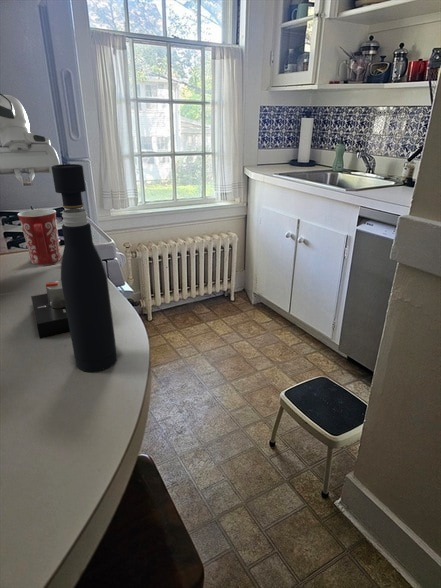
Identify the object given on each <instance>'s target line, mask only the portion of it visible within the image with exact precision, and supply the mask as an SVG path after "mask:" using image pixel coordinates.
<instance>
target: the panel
mask: <svg viewBox="0 0 441 588" xmlns="http://www.w3.org/2000/svg"><path fill="white" fill-rule="evenodd" d="M30 299H31V304H32V307H33V313H34V318H35V323H36V329H37V332H38V338H39V340H41V339H45V338H50V337H55V336H59V335H63V334H68V333H69V334H70V328H69V323H68V317H67V312H66V307H65V308H59V309H57V308H52V307H50V305H49V300H48V295H47V293H42V294H37V295H31V296H30Z"/></svg>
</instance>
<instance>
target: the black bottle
mask: <svg viewBox="0 0 441 588" xmlns="http://www.w3.org/2000/svg"><path fill="white" fill-rule="evenodd" d="M51 168H52V173H51V174H52V179H53V185H54V191H55V193H57V194H61V200H62V207H63V209H64V210H62V211H61V212H62V214H61V217H62V218H63V219H62V222H63V224H62V225H61V231H62V236H63V241H64V242H63V243H64V247H63V252H62V257H61V262H60V263H61V264H60V280H61V284H62V289H63V295H64V300H65V306H66V312H67V317H68V323H69V328H70V332H69V334H70V340H71V344H72V350H73V356H74V362H75V366H76V368H77V369H78V370H79V371H82V372H86V373H98V372H103V371H105V370H108V369H110V368H111V367H112V366H114V365H115V363H116V362H118V361H117V360H118V352H117V344H116V338H115V337H116V336H115V328H114V320H113V312H112V305H111V297H110V296H111V295H110V287H109V282H108V280H109V279H108V274H107V271H106V268H105V265H104V262H103V260H102V256H100V252H99V251H98V250H97V248H96V245H95V243H94V240H93V239H94V238H93V233H92V224H91V223H90V222H88V221H89V218H88V217H87V216H88V212H87V210H86V208H83V207H84V202H83V194H82V193H84V192H86V191H87V187H86V178H85V171H84V165H83V164H79V163H78V164H77V163H64V164H60V165H54V166H52V167H51Z"/></svg>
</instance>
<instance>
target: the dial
mask: <svg viewBox="0 0 441 588" xmlns="http://www.w3.org/2000/svg"><path fill="white" fill-rule="evenodd" d="M45 289H46V294H47V295H48V300H49V305H50V307H52V308H57V309H59V308H65V307H66V306H65V300H64V295H63V289H62V284H61V279H59V280H58V279H57V280H53V281H50V282H46V283H45Z"/></svg>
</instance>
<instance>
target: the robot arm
mask: <svg viewBox="0 0 441 588" xmlns="http://www.w3.org/2000/svg"><path fill="white" fill-rule="evenodd" d="M30 128H31V126H30V122H29V118H28V114H27V112H26V109H25V108H24V106H23V104H22V103H21V101H20V100H19V99H18V98H16V97H15V96H13V95H10V94H3V93H1V92H0V177H1V176H2V177H3V176H5V177H6V176H15V178H16V180H18V181H19V182H20V184H21V186H22V187H26V186H27V187H28V186H34V185H33V184H34V182H33V180H34V178H35V176H36V175H39V174H40V175H41V174H52V168H51V167H52V166H54V165H61V161H60V158H59V155H58V153H57V151H56V149H55V147H54V146H53V145H51V140H50V137H48V136H45V135H41V134H37V133H33V132H31V131H30ZM22 175H29V176H22Z"/></svg>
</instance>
